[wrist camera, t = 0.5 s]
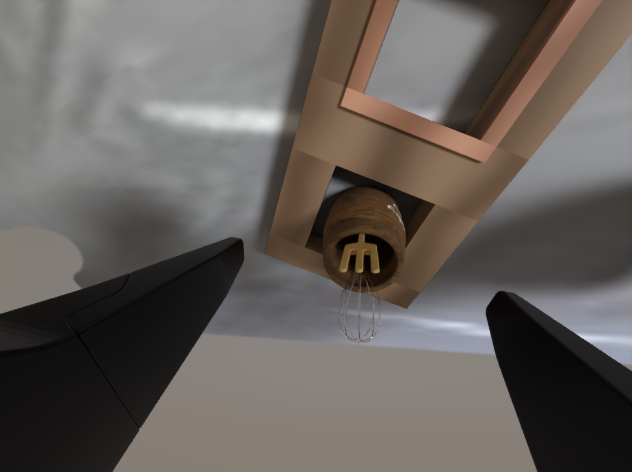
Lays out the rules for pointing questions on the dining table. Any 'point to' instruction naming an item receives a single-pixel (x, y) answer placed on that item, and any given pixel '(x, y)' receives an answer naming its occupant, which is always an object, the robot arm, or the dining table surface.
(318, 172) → the double window frame
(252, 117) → the dining table surface
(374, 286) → the utensil holder
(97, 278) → the dining table surface
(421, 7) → the dining table surface
